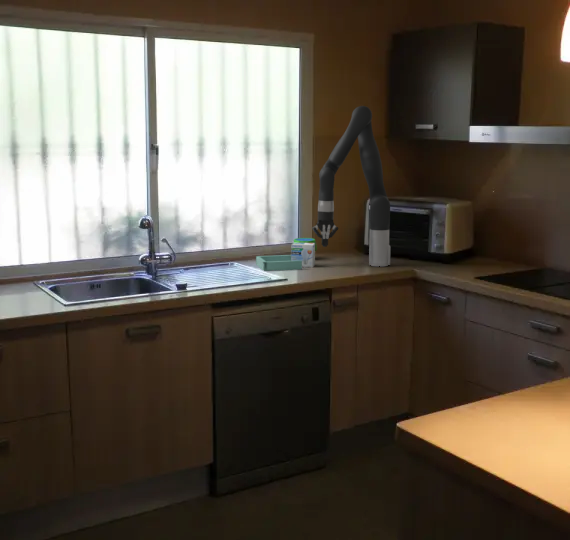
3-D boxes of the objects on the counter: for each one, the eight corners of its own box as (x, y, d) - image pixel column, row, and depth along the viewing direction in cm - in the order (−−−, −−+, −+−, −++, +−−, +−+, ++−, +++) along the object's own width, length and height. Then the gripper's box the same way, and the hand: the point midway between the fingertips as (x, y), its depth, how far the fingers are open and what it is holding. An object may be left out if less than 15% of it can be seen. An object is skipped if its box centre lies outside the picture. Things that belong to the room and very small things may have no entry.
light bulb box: (290, 266, 357) (290, 244, 355) (293, 264, 363) (293, 242, 361) (313, 267, 355) (313, 244, 353) (315, 265, 361) (315, 242, 360)
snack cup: (298, 262, 369) (298, 241, 367) (285, 259, 377) (285, 239, 375) (323, 259, 378) (323, 239, 376) (309, 256, 386) (310, 236, 384)
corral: (292, 262, 367) (292, 254, 366) (301, 269, 350) (301, 260, 349) (255, 264, 363) (255, 256, 362) (263, 270, 346) (263, 262, 345)
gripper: (336, 209, 362) (335, 245, 365) (310, 209, 359) (309, 245, 362) (341, 211, 355) (340, 247, 358) (314, 211, 352) (313, 247, 355)
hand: (324, 246), depth 360 cm, fingers closed
